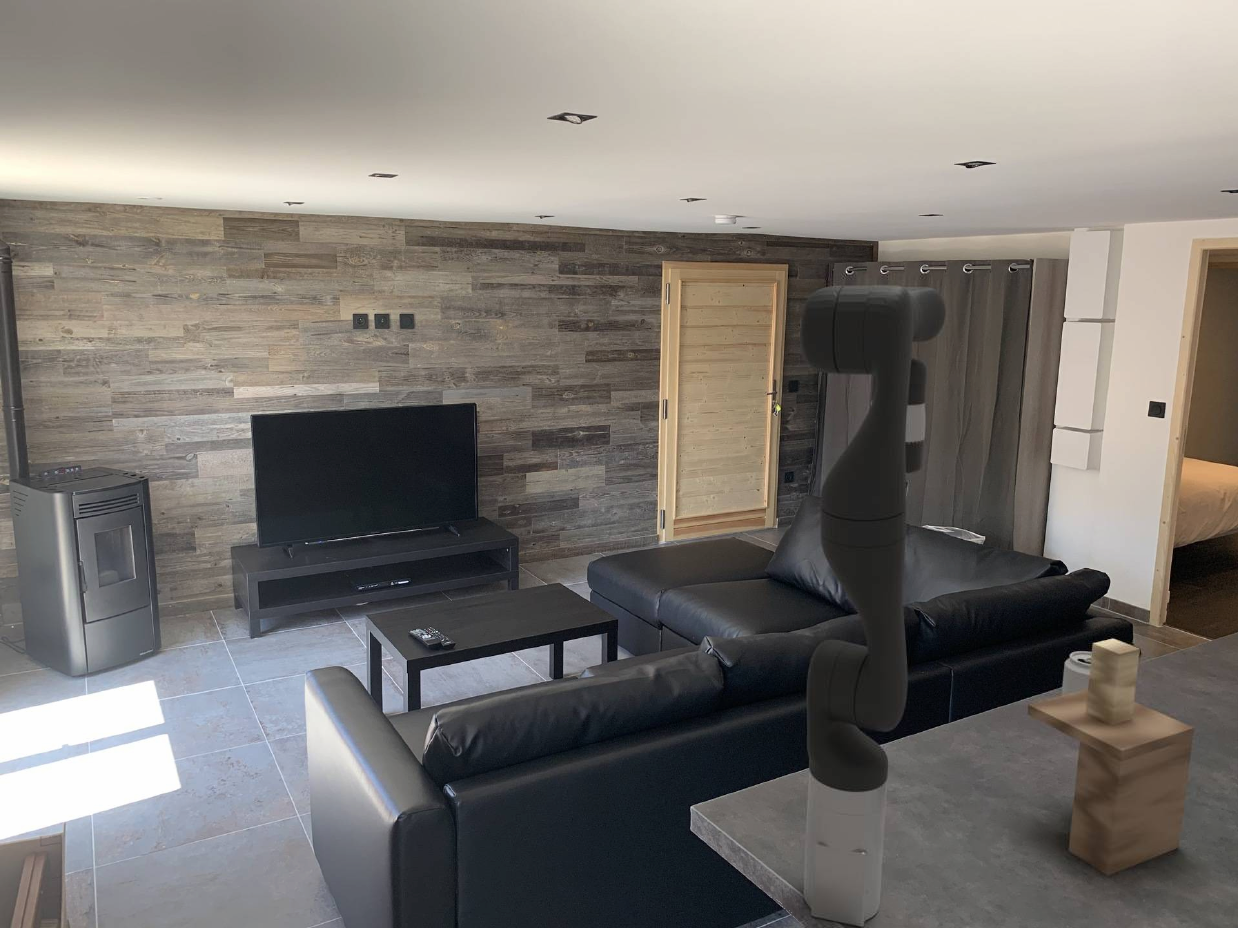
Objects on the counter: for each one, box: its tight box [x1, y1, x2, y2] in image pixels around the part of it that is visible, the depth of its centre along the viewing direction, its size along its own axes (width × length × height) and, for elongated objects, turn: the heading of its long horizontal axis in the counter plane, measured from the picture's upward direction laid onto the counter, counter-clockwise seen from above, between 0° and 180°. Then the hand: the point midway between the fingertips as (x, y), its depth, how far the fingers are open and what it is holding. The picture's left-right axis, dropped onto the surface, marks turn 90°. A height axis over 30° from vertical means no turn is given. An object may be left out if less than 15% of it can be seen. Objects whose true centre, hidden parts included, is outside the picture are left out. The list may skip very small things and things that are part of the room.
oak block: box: [1086, 638, 1141, 725], centre depth 130 cm, size 4×4×10 cm
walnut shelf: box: [1027, 689, 1195, 876], centre depth 133 cm, size 14×14×18 cm
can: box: [1061, 650, 1092, 696], centre depth 166 cm, size 8×8×12 cm
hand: (889, 548), depth 136 cm, fingers open, 8 cm apart
